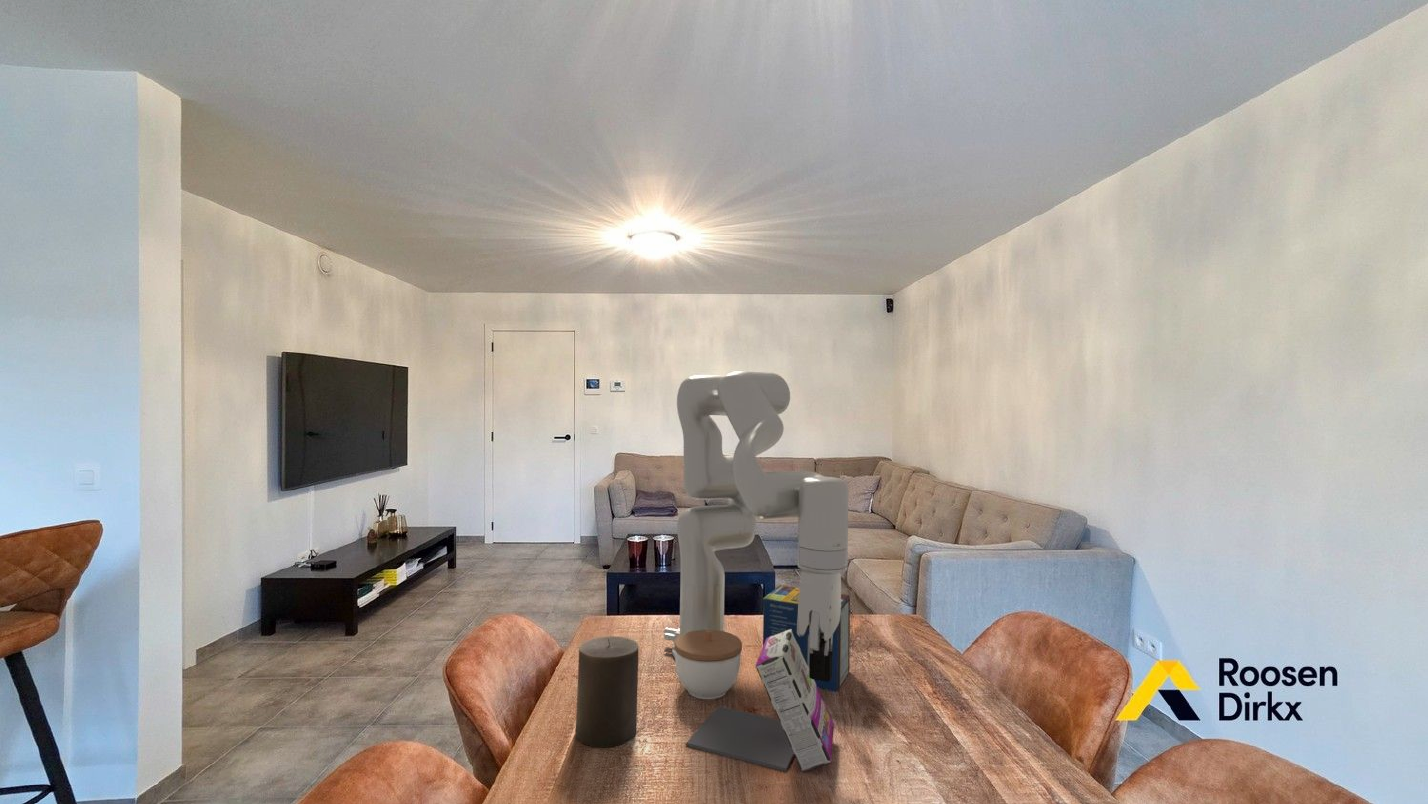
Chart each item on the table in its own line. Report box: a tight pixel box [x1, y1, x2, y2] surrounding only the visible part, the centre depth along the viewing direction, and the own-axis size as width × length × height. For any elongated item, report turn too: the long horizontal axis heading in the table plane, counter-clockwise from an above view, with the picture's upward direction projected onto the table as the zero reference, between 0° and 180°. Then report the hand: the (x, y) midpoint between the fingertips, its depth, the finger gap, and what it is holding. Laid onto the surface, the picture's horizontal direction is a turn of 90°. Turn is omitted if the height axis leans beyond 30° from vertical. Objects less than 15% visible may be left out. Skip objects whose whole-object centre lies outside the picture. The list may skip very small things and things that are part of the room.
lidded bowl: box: [674, 630, 743, 701], centre depth 111 cm, size 13×13×11 cm
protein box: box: [762, 584, 851, 693], centre depth 119 cm, size 10×15×16 cm
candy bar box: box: [754, 629, 835, 772], centre depth 91 cm, size 11×5×16 cm, turn 166°
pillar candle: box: [575, 635, 640, 748], centre depth 96 cm, size 10×10×15 cm
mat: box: [685, 705, 795, 773], centre depth 95 cm, size 16×13×1 cm
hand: (820, 677), depth 91 cm, fingers closed
